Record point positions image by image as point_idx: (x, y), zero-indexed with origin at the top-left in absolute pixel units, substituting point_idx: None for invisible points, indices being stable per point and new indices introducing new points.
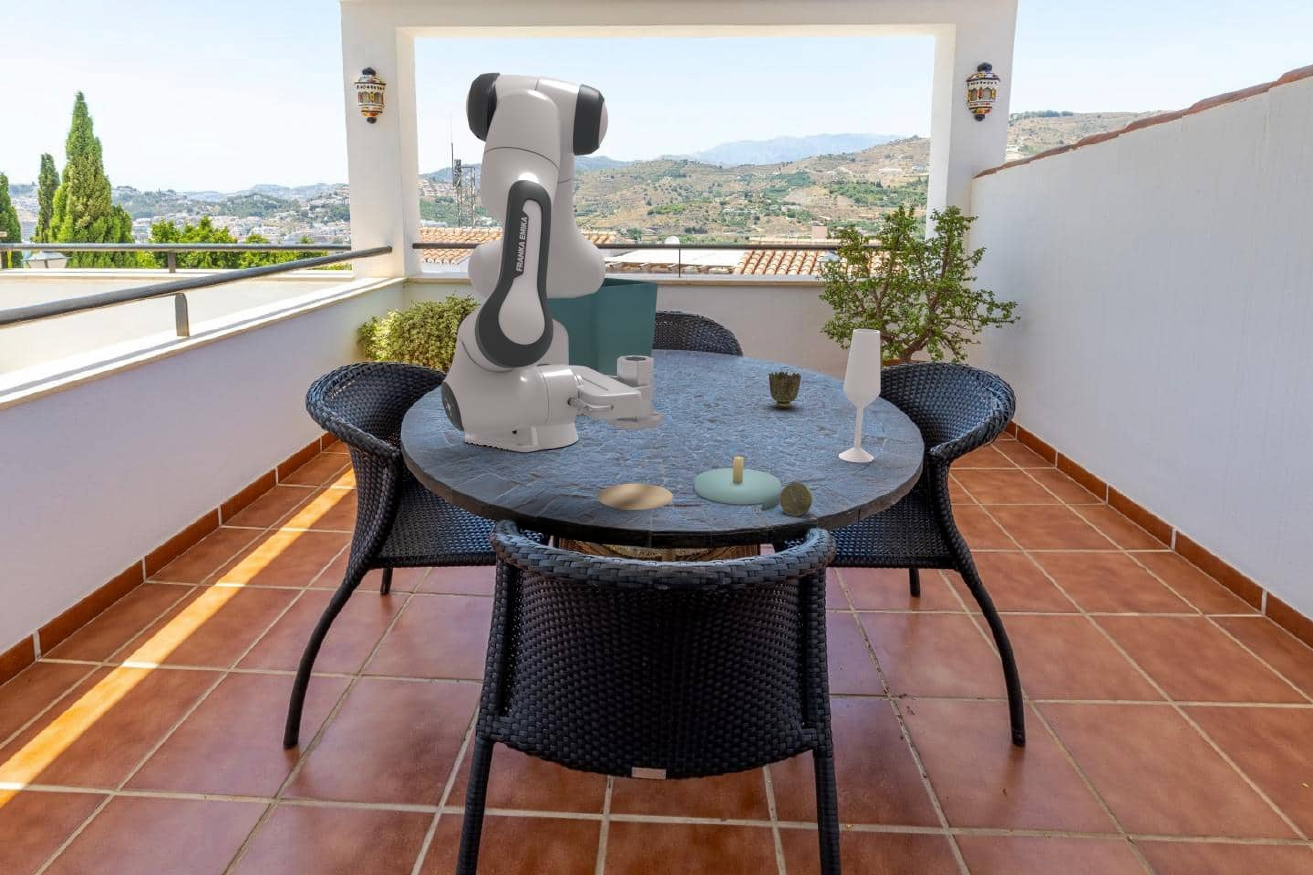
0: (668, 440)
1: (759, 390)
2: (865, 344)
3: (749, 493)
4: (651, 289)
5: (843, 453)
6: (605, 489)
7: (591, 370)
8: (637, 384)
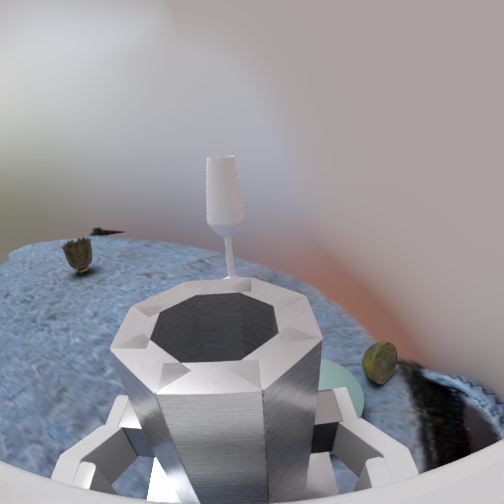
0: (52, 374)
1: (42, 267)
2: (231, 169)
3: (352, 399)
4: None
5: None
6: None
7: (7, 485)
8: (312, 424)
